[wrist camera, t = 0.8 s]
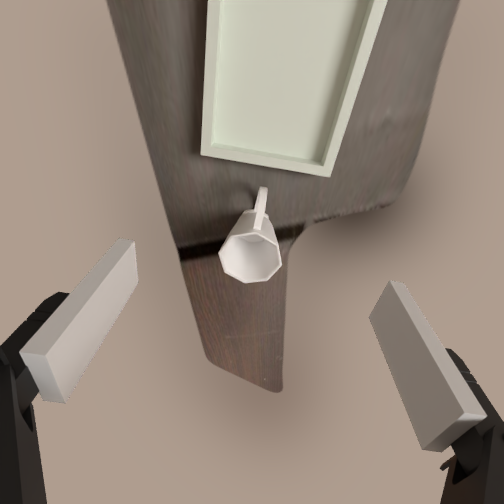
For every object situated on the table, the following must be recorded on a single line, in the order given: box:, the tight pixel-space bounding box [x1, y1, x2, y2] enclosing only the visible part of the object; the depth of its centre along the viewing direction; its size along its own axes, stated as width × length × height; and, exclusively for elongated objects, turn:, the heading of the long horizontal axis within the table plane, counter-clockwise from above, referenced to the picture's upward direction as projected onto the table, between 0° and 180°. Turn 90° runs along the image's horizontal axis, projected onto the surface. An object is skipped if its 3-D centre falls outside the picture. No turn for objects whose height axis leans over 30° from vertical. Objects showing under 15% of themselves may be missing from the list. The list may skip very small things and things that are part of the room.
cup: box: [218, 186, 282, 283], centre depth 32 cm, size 7×10×8 cm
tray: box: [201, 0, 387, 177], centre depth 25 cm, size 20×14×2 cm
